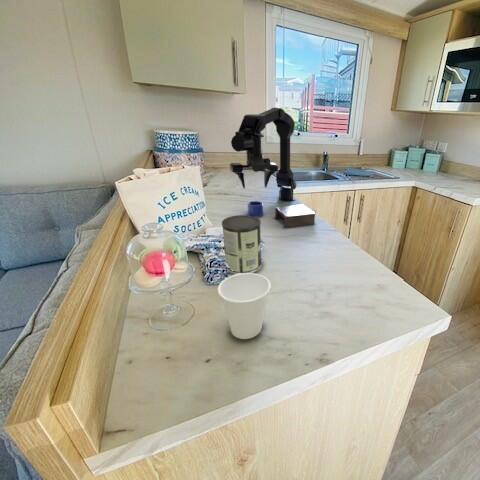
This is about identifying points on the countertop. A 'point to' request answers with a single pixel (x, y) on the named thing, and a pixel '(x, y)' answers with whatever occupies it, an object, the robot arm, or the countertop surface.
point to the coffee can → (242, 243)
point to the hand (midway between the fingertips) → (254, 187)
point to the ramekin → (255, 208)
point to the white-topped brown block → (295, 215)
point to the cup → (244, 302)
